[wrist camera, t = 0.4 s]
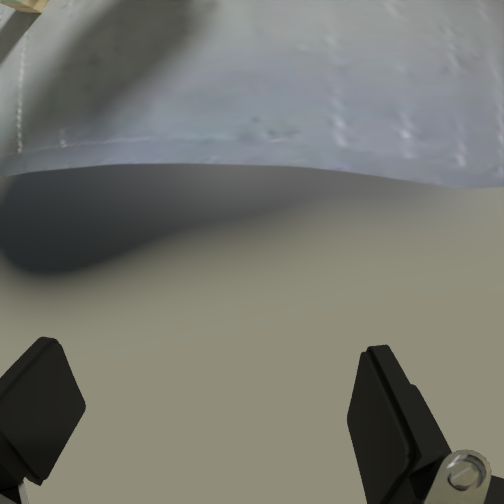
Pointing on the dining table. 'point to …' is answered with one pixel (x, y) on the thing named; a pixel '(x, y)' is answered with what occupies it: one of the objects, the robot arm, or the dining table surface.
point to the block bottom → (29, 5)
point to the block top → (10, 1)
